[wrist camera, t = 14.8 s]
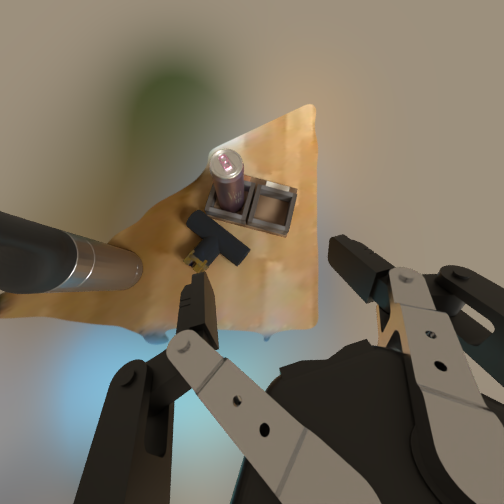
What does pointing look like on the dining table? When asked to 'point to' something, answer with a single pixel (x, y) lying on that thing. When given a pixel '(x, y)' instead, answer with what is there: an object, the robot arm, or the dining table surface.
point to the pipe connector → (212, 243)
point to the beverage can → (228, 179)
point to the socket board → (258, 207)
